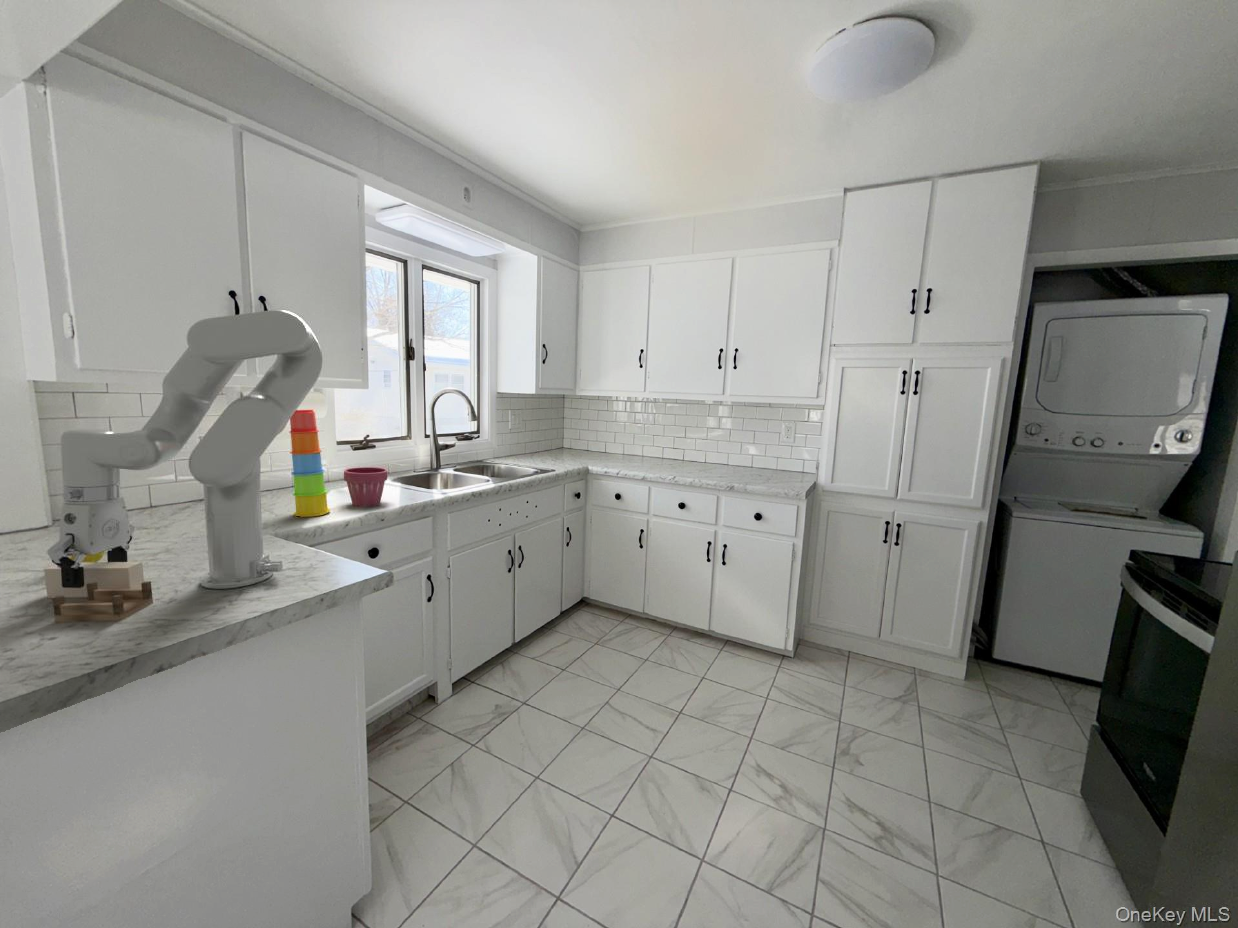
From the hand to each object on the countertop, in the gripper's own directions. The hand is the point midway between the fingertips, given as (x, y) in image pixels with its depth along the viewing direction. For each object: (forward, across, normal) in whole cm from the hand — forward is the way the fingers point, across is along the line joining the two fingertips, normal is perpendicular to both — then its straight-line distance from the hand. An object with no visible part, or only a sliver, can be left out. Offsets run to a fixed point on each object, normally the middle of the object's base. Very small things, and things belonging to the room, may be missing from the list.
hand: (96, 577), depth 96 cm
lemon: (+4, +15, +14) cm, 21 cm away
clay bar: (+4, 0, 0) cm, 4 cm away
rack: (+3, -9, -8) cm, 12 cm away
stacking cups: (+2, +65, -11) cm, 66 cm away
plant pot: (+1, +80, -23) cm, 84 cm away
